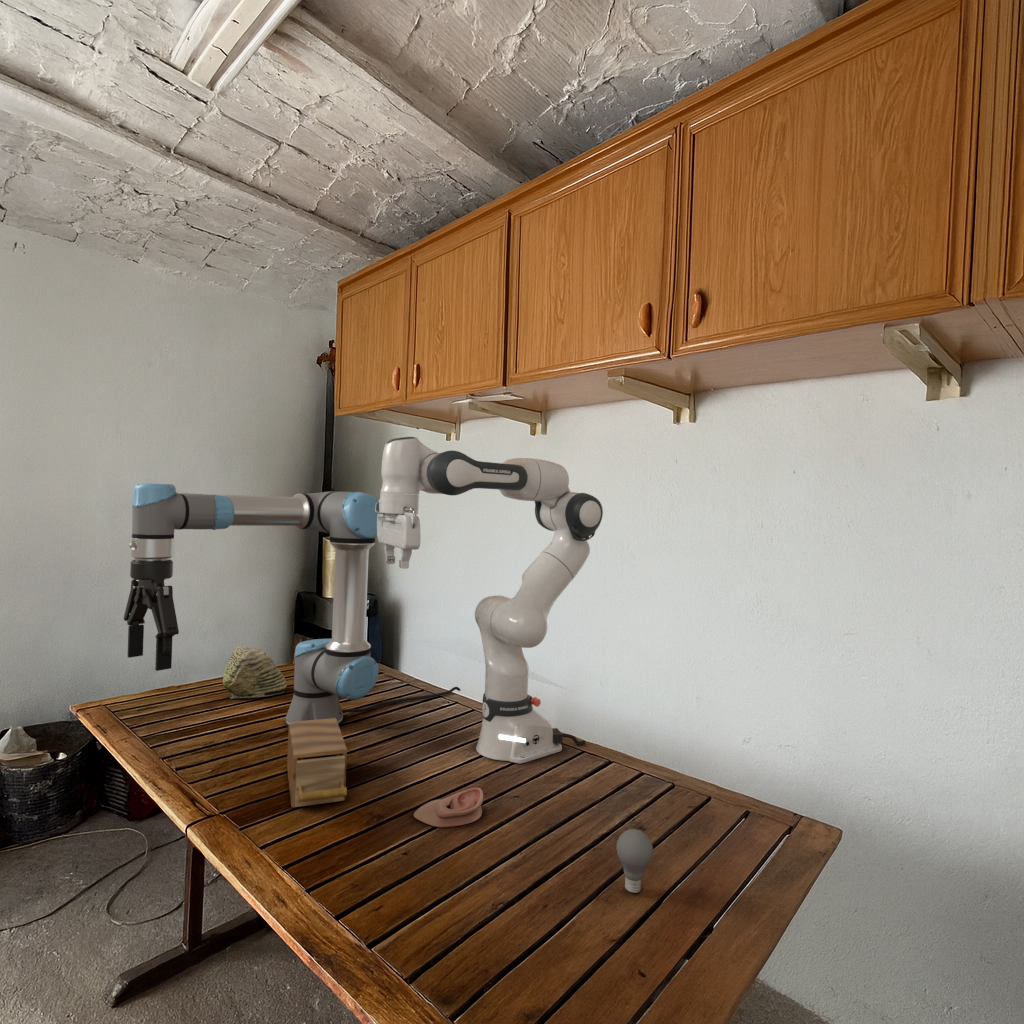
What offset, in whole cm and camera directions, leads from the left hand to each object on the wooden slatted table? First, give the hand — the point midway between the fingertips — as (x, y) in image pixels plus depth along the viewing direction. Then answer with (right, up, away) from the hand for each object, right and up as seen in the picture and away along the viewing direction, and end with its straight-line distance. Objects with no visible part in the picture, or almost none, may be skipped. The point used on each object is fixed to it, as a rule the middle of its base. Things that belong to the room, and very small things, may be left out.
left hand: (148, 662), depth 129 cm
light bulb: (+94, -33, -24) cm, 103 cm away
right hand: (+47, +18, +18) cm, 54 cm away
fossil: (-6, -27, +69) cm, 74 cm away
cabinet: (+31, -29, +10) cm, 44 cm away
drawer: (+33, -28, +6) cm, 44 cm away
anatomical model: (+61, -31, -1) cm, 69 cm away
